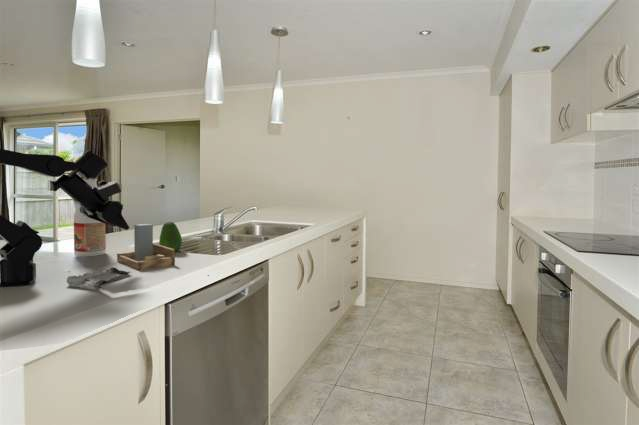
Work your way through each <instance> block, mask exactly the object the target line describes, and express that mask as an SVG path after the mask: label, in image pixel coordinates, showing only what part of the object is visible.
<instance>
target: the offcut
mask: <svg viewBox="0 0 639 425" xmlns="http://www.w3.org/2000/svg"><path fill="white" fill-rule="evenodd" d="M160 258H165V256H164V255H160V254H158V255H152V256H146V257H145V260H153V259H160Z"/></svg>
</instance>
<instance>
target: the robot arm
mask: <svg viewBox="0 0 639 425" xmlns="http://www.w3.org/2000/svg"><path fill="white" fill-rule="evenodd" d="M0 165H6V166H12V167H17V168H20V169H23V170H27V171H29V172H31V173H35V174H38V175H41V176H45V177H51V178H52V177H53V178H57V177H58V178H57V179H56V180H50V181H49V185H50V186H49V190H50V191H51V192H58V190H59V189H60V190H61V191H63V192H64V193H65V194H66V195H68V197H70V198H71V199H72V202H73V203H74V202H75V203H78V204H79V205H81V207H80V213H82V214H83V215H84V216H87V217H88V218H91V219H94V220H97V221H100V222H102V223H105V225H109V226H111V227H118V228H120V229H123V230H125V231H128V230H129V229H130V226H129V224H128V223H127V221H126V220H125V218H124V216H123V214H122V211H123V210H124V208H123V207H124V205H123V204H122V203H121V202H120V201H118V200H110V198H109V197H112V196H114V195H116V194H120V193H122V189H121V187H120V185H119V184H118V181H108V182H107V181H105V180H100V181H98V182H97V188H96V187H91V186H90V185H89V184H88V183H87V182H86V181H84V180H83V179H82V178H81V177H83V178H84V179H86V180H88V179H89V178H90V179H92V180H94V179H95V178H96V177H97V178H98V177H99V176H100V175H101V174H102V172H104V171H105V170H106V169H108V167H109V164H108V163H107V161H106V160H105V159H103V157H100V156H99V155H98V154H96V153H94V152H93V151H92V150H88V149H87V150H86V151H84V152H83V154H82V155H81V156H79V158H77V159H76V160H75V161H71V160H70V161H67V160H65V159H64V158H63V157H61V156H59V155H57V154H40V153H39V154H37V153H35V154H34V153H24V152H18V151H15V150H14V151H13V150H9V149H4V148H0ZM66 172H69V173H68V174H65V173H66ZM88 214H89V215H88ZM39 234H40V231H38V230H35V229H34V228H32V227H31V226H29V225H28V223H27V222H24V221H22V220H19V219H18V220H17V222H16V223H14V222H12V221H10V220H9V219H7V218H6V217H4V216H3V215H1V214H0V237H1V239H2V240H3V241H4V242H6V243H5V244H4V245H3V246H1V247H0V257H1V260H0V287H11V286H13V287H14V286H27V285H30V284H31V283H32V282H34V281H35V280H36V279H37V265H36V262H34V256H35V255H36V253H37V252H38V251H39V250H41V248H42V245H43V239H42V237H41V236H40V235H39Z"/></svg>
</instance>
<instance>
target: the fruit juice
mask: <svg viewBox="0 0 639 425" xmlns="http://www.w3.org/2000/svg"><path fill="white" fill-rule="evenodd" d="M80 177H81V176H80ZM81 178H82V179H83V180H84V181H86V182H87V183H88V184H89V185H90V186H91V187H96V188H97V187H98V182H97V181H98V176H97V177H96V178H95V179H94V180H92V179H90V178H89V179H88V180H86V179H84V178H83V177H81ZM73 204H74V205H73V206H74V208H75V211H74V214H73V247H74V248H73V253H74V257H75V258H79V257H95V256H100V255H105V254H106V253H107V250H106V249H107V248H106V247H107V244H106V243H107V242H106V235H107V233H106V224H105V223H102V222H100V221H97V220H94V219H91V218H88V217H87V216H84V215H83V214H82V213H80V207H81V205H79V204H78V203H75V202H74V201H73ZM88 215H89V214H88Z"/></svg>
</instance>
